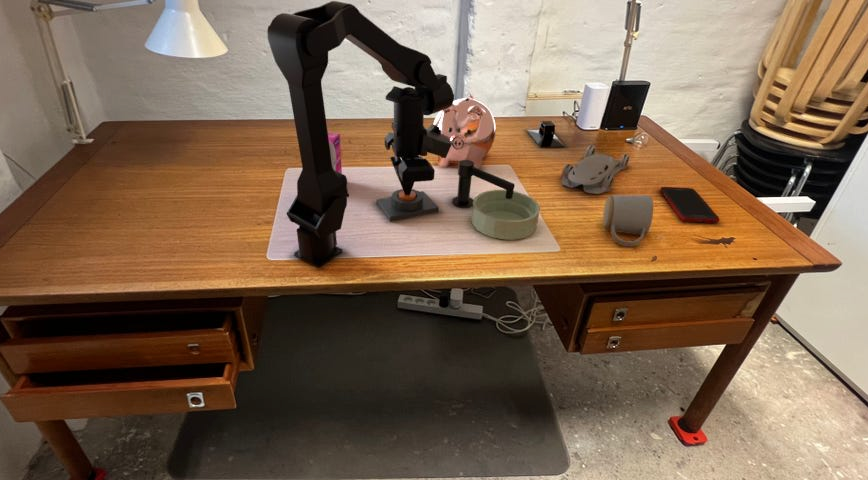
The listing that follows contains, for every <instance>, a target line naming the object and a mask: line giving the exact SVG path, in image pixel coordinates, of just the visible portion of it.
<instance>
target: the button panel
mask: <svg viewBox="0 0 868 480" xmlns="http://www.w3.org/2000/svg"><path fill="white" fill-rule="evenodd" d="M401 191H403V189H402V188H401V189H397V190H395V191H393V192H391V193H392V194H391V196H388V197H383V198H377V199H376V202H375V203H376V206H377V207H378V208H379V209H380V211H381V212H382V214H383V215H384V216H385V217H386V219H387V221H389V222H395V221H400V220H406V219H410V218H415V217H421V216H425V215H432V214H436V213H439V206H438V205H437V204H436V203H435V201H433V200H432V199H431V198H430V196H428V195H427V193H425V192H424V190H416V189H414V188H412V190H411V191H413V192H415V193H416V199H414V200H409V201H406V200H401V199H399V193H400V192H401Z"/></svg>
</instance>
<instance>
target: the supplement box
mask: <svg viewBox="0 0 868 480" xmlns="http://www.w3.org/2000/svg"><path fill="white" fill-rule="evenodd" d="M328 138H329V145H330V153H331V161H332V167H333V169H334V170H335V171H337V172H339V173H341V174H343V169H342V167H343V166H342V146H341V145H342V144H341V134H340V133H336V132H335V133H334V132H328Z"/></svg>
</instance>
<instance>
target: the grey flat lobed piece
mask: <svg viewBox="0 0 868 480" xmlns="http://www.w3.org/2000/svg"><path fill="white" fill-rule="evenodd" d="M629 161H630V155H629V154H628V153H623V154H622V155H621V157H620V159H619V160H617V159H616V158H615V157H613V156H611V155H610V154H606V153H596V146H594V145H589V146H587V148H586V150H585V153H584V158H582V159H581V160H580V161H578V162H577V163H576V164H575V165H572V164H570V163H566V164H565V165H564V167H563V168H562V172H561V184H562V185H563V186H564V187H566V188H569V189H572V190H573V189H582V191H584V193H585V194H590V195H601V194H604V193H606V192H607V193H608V192H609V191H610V190H611V188H612V186H613V182H614V179H615V176H616V174H617V173H619V172H620V171H622V170H625V169H626V168H627V166H628V163H629Z"/></svg>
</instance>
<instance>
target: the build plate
mask: <svg viewBox="0 0 868 480" xmlns="http://www.w3.org/2000/svg"><path fill="white" fill-rule="evenodd" d="M555 128H556V124H555V123H554V122H553V121H552V120H541V121H540V124H539V128H538V129H527V130H526V132H527V134H528V135H529V136H530V137H531V138H532V140H533V141H534V142H535V144H537V146H538V148H540V149H549V148H550V149H552V148H553V149H554V148H555V149H556V148H565V147H566V146H565V144H564V143H563V142H562V141H561V140H560V139H559V138H558V136H557V135H556V134H555V132H556V129H555Z"/></svg>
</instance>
